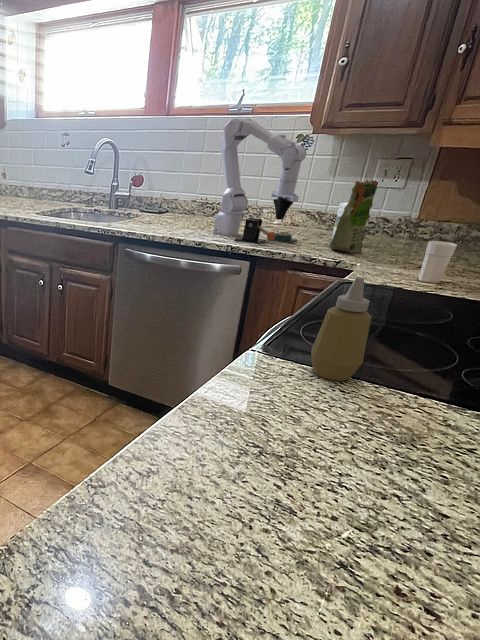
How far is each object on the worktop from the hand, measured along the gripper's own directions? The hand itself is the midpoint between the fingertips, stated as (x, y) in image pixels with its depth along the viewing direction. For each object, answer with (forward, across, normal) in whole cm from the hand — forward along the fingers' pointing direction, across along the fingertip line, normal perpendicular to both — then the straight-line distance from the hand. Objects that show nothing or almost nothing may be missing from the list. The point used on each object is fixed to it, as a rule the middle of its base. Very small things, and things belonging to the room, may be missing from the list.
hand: (279, 219), depth 197 cm
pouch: (+10, -12, -20) cm, 26 cm away
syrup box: (+10, +6, -31) cm, 33 cm away
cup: (+10, -51, -20) cm, 56 cm away
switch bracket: (+9, +3, +8) cm, 13 cm away
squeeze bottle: (+10, -113, +51) cm, 125 cm away
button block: (+9, +4, -5) cm, 11 cm away
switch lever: (+5, +1, +6) cm, 8 cm away
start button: (+7, +4, -5) cm, 9 cm away
